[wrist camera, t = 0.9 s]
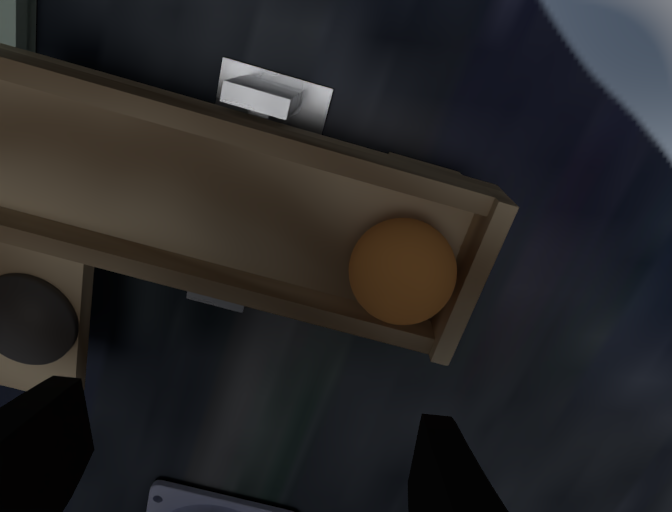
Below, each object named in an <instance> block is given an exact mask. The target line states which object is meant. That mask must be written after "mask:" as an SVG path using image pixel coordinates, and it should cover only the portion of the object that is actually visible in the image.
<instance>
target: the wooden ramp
mask: <svg viewBox="0 0 672 512" xmlns="http://www.w3.org/2000/svg"><path fill="white" fill-rule="evenodd" d="M518 209H519V207H518V206H517V205H516V204H515V203H514V202H513V201H512V200H511V199H510V198H509V197H508V196H507V195H506V194H505V193H504V192H503V191H502V190H501V189H500V188H499V187H498V186H497V185H495V184H491V183H488V182H484V181H481V180H477V179H474V178H470V177H467V176H463V175H462V174H461V173H460V172H458V171H454V170H451V169H448V168H444V167H441V166H437V165H434V164H430V163H427V162H423V161H420V160H416V159H413V158H409V157H406V156H402V155H399V154H395V153H392V152H389V153H388V154H387V153H383V152H380V151H376V150H373V149H369V148H366V147H362V146H359V145H355V144H352V143H348V142H345V141H341V140H338V139H334V138H331V137H327V136H324V135H320V134H317V133H313V132H310V131H306V130H303V129H299V128H296V127H292V126H289V125H285V124H282V123H278V122H275V121H272V120H268V119H265V118H261V117H258V116H254V115H251V114H247V113H244V112H240V111H237V110H233V109H230V108H226V107H223V106H219V105H216V104H212V103H209V102H205V101H202V100H198V99H195V98H191V97H188V96H184V95H181V94H177V93H174V92H170V91H167V90H163V89H160V88H156V87H153V86H149V85H146V84H142V83H139V82H135V81H132V80H128V79H125V78H122V77H118V76H115V75H111V74H108V73H104V72H101V71H97V70H94V69H90V68H87V67H83V66H80V65H76V64H73V63H69V62H66V61H62V60H59V59H55V58H52V57H48V56H45V55H41V54H38V53H34V52H31V51H27V50H24V49H20V48H17V47H13V46H10V45H6V44H3V43H0V385H3V386H7V387H11V388H15V389H20V390H24V391H28V390H29V389H31V388H33V387H34V386H36V385H37V384H39V383H41V382H43V381H44V380H46V379H48V378H50V377H51V376H53V375H54V376H64V377H73V378H81V379H82V385H83V390H84V388H85V376H86V363H87V351H88V338H89V326H90V313H91V301H92V288H93V276H94V267H97V268H101V269H104V270H108V271H112V272H116V273H120V274H124V275H127V276H131V277H135V278H139V279H143V280H147V281H150V282H154V283H158V284H162V285H166V286H169V287H173V288H177V289H181V290H185V291H189V292H192V293H196V294H200V295H204V296H208V297H211V298H215V299H219V300H223V301H227V302H231V303H234V304H238V305H242V306H246V307H250V308H253V309H257V310H261V311H265V312H269V313H273V314H276V315H280V316H284V317H288V318H292V319H295V320H299V321H303V322H307V323H311V324H315V325H318V326H322V327H326V328H330V329H334V330H337V331H341V332H345V333H349V334H353V335H357V336H360V337H364V338H368V339H372V340H376V341H379V342H383V343H387V344H391V345H395V346H399V347H402V348H406V349H410V350H414V351H418V352H421V353H425V354H429V357H430V361H431V362H434V363H438V364H442V365H445V366H448V365H449V363H450V361H451V359H452V356H453V354H454V352H455V350H456V348H457V345H458V343H459V341H460V339H461V336H462V334H463V332H464V330H465V327H466V325H467V323H468V321H469V318H470V316H471V314H472V312H473V309H474V307H475V305H476V303H477V301H478V298H479V296H480V294H481V292H482V289H483V287H484V285H485V283H486V280H487V278H488V276H489V274H490V271H491V269H492V267H493V265H494V262H495V260H496V258H497V256H498V253H499V251H500V249H501V247H502V245H503V242H504V240H505V238H506V236H507V233H508V231H509V229H510V227H511V224H512V222H513V220H514V218H515V215H516V213H517V211H518ZM394 218H412V219H417V220H420V221H423V222H425V223H427V224H429V225H431V226H432V227H434V228H435V229H436V230H438V231H439V232H440V233H441V234H442V235H443V236H444V237H445V239H446V240H447V241H448V243H449V245H450V246H451V248H452V250H453V253H454V256H455V260H456V264H457V279H456V284H455V288H454V290H453V293H452V295H451V297H450V299H449V301H448V302H447V303H446V305H445V306H444V307H443V308H442V309H441V310H440V311H439V312H438V313H437V314H435V315H434V316H433V317H431V318H429V319H427V320H425V321H423V322H420V323H416V324H412V325H394V324H389V323H386V322H383V321H381V320H379V319H377V318H375V317H373V316H372V315H370V314H369V313H368V312H367V311H366V310H365V309H364V308H363V307H362V306H361V305H360V304H359V302H358V301H357V299H356V298H355V296H354V294H353V291H352V289H351V286H350V281H349V262H350V257H351V254H352V251H353V249H354V247H355V245H356V243H357V242H358V240H359V239H360V238H361V236H362V235H363V234H364V233H365V232H366V231H367V230H369V229H370V228H371V227H373V226H375V225H376V224H378V223H380V222H383V221H386V220H389V219H394Z"/></svg>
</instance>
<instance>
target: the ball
mask: <svg viewBox="0 0 672 512" xmlns="http://www.w3.org/2000/svg"><path fill="white" fill-rule="evenodd" d="M456 279H457V264H456V260H455V256H454V253H453V250H452V248H451V246H450V245H449V243H448V241H447V240H446V239H445V237H444V236H443V235H442V234H441V233H440V232H439V231H438V230H436V229H435V228H434V227H432V226H431V225H429V224H427V223H425V222H423V221H420V220H417V219H412V218H394V219H389V220H386V221H383V222H380V223H378V224H376V225H375V226H373V227H371V228H370V229H369V230H367V231H366V232H365V233H364V234H363V235H362V236H361V238H360V239H359V240H358V242H357V243H356V245H355V247H354V249H353V251H352V254H351V257H350V262H349V281H350V286H351V289H352V291H353V294H354V296H355V298H356V299H357V301H358V302H359V304H360V305H361V306H362V307H363V308H364V309H365V310H366V311H367V312H368V313H369V314H370V315H372V316H373V317H375V318H377V319H379V320H381V321H383V322H386V323H389V324H394V325H412V324H416V323H420V322H423V321H425V320H427V319H429V318H431V317H433V316H434V315H435V314H437V313H438V312H439V311H440V310H441V309H442V308H443V307H444V306H445V305H446V303H447V302H448V301H449V299H450V297H451V295H452V293H453V290H454V288H455V284H456Z"/></svg>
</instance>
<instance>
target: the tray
mask: <svg viewBox="0 0 672 512" xmlns="http://www.w3.org/2000/svg"><path fill="white" fill-rule="evenodd" d="M36 5H37V0H0V43H3V44H6V45H10V46H13V47H17V48H20V49H24V50H27V51H31V52H34V53H35V51H36Z"/></svg>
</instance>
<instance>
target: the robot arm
mask: <svg viewBox="0 0 672 512" xmlns="http://www.w3.org/2000/svg"><path fill="white" fill-rule="evenodd" d="M93 451H94V445H93V440H92V434H91V429H90V423H89V418H88V412H87V407H86V401H85V396H84V390H83V385H82V379H81V378H73V377H64V376H54V375H53V376H51V377H50V378H48V379H46V380H44V381H43V382H41V383H39V384H37V385H36V386H34V387H33V388H31V389H29V390H28V391H26V392H24V393H23V394H21V395H20V396H18V397H16V398H15V399H13V400H12V401H10V402H8V403H7V404H5V405H4V406H2V407H0V512H63V510H64V508H65V507H66V505H67V504H68V502H69V500H70V499H71V497H72V495H73V493H74V491H75V489H76V487H77V485H78V483H79V481H80V479H81V477H82V475H83V473H84V471H85V469H86V466H87V464H88V462H89V460H90V458H91V456H92V453H93ZM408 508H409V512H508V510H507V509H506V507H505V506H504V504H503V502H502V501H501V499H500V498H499V496H498V495H497V493H496V492H495V490H494V488H493V487H492V485H491V484H490V482H489V480H488V479H487V477H486V475H485V474H484V472H483V470H482V469H481V467H480V465H479V463H478V462H477V460H476V458H475V457H474V455H473V453H472V451H471V450H470V448H469V446H468V444H467V442H466V441H465V439H464V437H463V435H462V433H461V431H460V429H459V428H458V426H457V424H456V422H455V421H454V419H453V418H452V417H449V416H439V415H430V414H422V416H421V421H420V425H419V430H418V435H417V440H416V445H415V450H414V455H413V460H412V465H411V470H410V475H409V479H408ZM146 512H294V511H291V510H287V509H282V508H278V507H274V506H270V505H266V504H261V503H257V502H253V501H249V500H244V499H240V498H236V497H232V496H228V495H223V494H219V493H215V492H211V491H206V490H202V489H198V488H194V487H190V486H185V485H181V484H177V483H173V482H168V481H164V480H156V481H154V482H153V484H152V486H151V488H150V491H149V497H148V503H147V509H146Z"/></svg>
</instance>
